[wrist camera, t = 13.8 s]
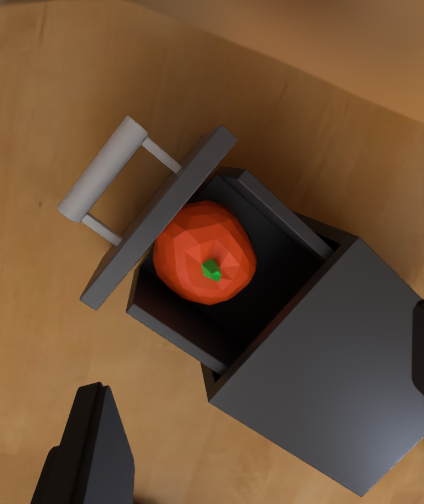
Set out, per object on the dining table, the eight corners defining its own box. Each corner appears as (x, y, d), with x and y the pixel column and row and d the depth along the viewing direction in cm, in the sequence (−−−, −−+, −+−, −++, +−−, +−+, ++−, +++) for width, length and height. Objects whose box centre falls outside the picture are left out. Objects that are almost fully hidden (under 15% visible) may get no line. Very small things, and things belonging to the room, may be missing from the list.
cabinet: (192, 324, 31) (208, 402, 21) (292, 210, 29) (359, 236, 19) (305, 403, 35) (361, 497, 25) (396, 308, 34) (493, 369, 24)
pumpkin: (199, 175, 25) (217, 182, 19) (260, 249, 28) (293, 277, 21) (129, 237, 25) (123, 264, 19) (196, 305, 28) (210, 347, 22)
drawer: (55, 224, 25) (8, 255, 18) (157, 93, 24) (157, 61, 16) (233, 349, 31) (259, 416, 23) (324, 248, 30) (386, 281, 22)
